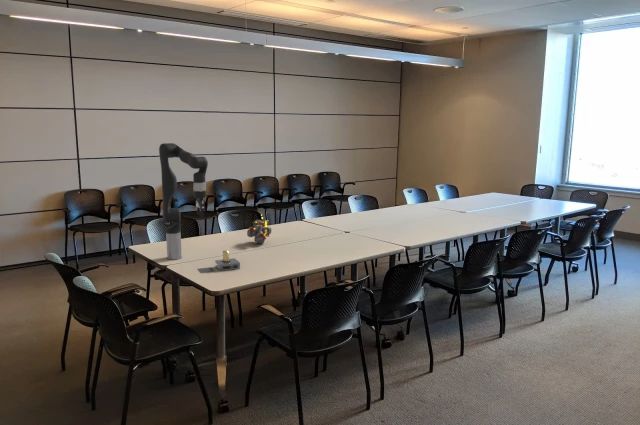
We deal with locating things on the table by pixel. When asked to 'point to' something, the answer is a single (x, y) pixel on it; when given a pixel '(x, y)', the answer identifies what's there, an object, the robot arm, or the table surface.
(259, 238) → the molecule model
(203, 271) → the rubber mat
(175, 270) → the table surface
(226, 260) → the brass pin
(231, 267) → the grey flat block
